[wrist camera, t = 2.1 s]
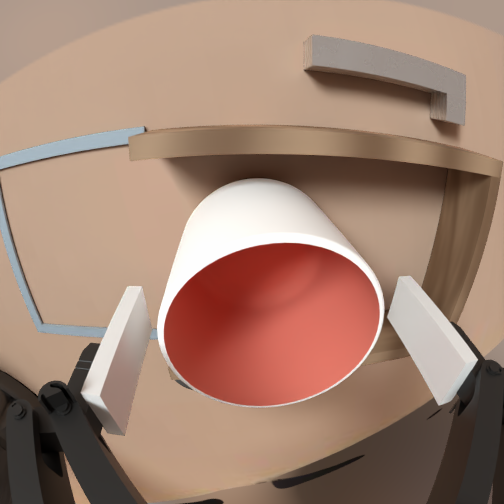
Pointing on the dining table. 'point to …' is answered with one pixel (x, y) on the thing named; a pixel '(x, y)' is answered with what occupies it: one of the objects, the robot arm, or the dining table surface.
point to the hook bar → (391, 72)
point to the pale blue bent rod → (3, 162)
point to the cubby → (374, 147)
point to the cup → (266, 299)
